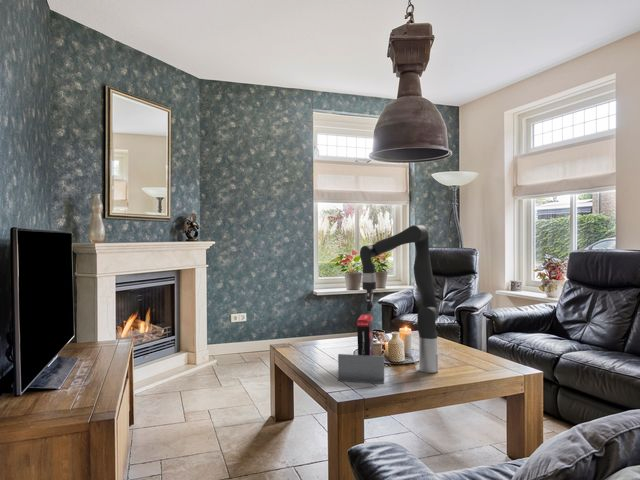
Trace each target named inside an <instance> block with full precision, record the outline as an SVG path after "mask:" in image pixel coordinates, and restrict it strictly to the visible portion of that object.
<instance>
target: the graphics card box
mask: <svg viewBox="0 0 640 480" xmlns="http://www.w3.org/2000/svg"><path fill="white" fill-rule="evenodd" d="M373 328H374V327H373V314H360V315H359V318H357V319H356V329H357V330H356V332H357V336H356V337H357V355H372V356H374V334H373V333H374V331H373V330H374V329H373Z"/></svg>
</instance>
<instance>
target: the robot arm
mask: <svg viewBox="0 0 640 480" xmlns="http://www.w3.org/2000/svg"><path fill="white" fill-rule="evenodd" d="M429 241H430V240H429V230H428V229H427V227H426V226H425V225H423V224H414V225H410V226H409V227H407V228H405V229H403V230H402V231H400V232H398V233H396V234H394V235H391V236H388V237H387V238H383V239H380V240H378V241H377V242H375V243H374V244H370V245H363V246H362V247H361V248H360V249H359V257H360V261H361V265H362V276H361V277H362V279H361V280H362V281H361V282H362V290H363V291H366V292H365V303H366V311H367V312H371V311H372V309H373V300H374V292H373V291H375V290H376V289H377V276H376V263H375V262H372V259H373V258H376V257H378V256H380V255H382V254H384V253H387V252H390V251H393V250H394V249H396V248H398V247H400V246H402V245H406V244H412V243H414V246H415V259H414V262H413V274H414V280H415V281H414V282H415V284H416V287H417V289H418V292H419V295H420V299H421V307H420V308H419V310H418V312H417V317H416V319H417V322H416V323H417V332H418V351H419V353H418V354H419V355H418V359H419V360H418V362H419V363H418V364H419V365H418V369H419V372H422V373H427V374H428V373H429V374H433V373H439V356H438V355H439V353H438V348H439V347H438V331H437V330H436V328H437V327H436V321H437V320H438V319H439V316H440V313H439V308H438V304H437V300H436V295H435V294H436V293H435V283H434V277H433V270H432V269H433V267H432V262H431V256H430V244H429V243H430V242H429Z"/></svg>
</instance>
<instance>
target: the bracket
mask: <svg viewBox="0 0 640 480" xmlns="http://www.w3.org/2000/svg"><path fill="white" fill-rule="evenodd" d="M337 355H338V357H337V364H338V367H337V368H338V370H337V372H338V373H337V376H338V378H337V381H336V382H344V383H345V382H346V383H362V384H377V385H378V384H379V385H385V356H384V355H373V356H372V355H358V354H349V353H348V354H347V353H338V354H337Z"/></svg>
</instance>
